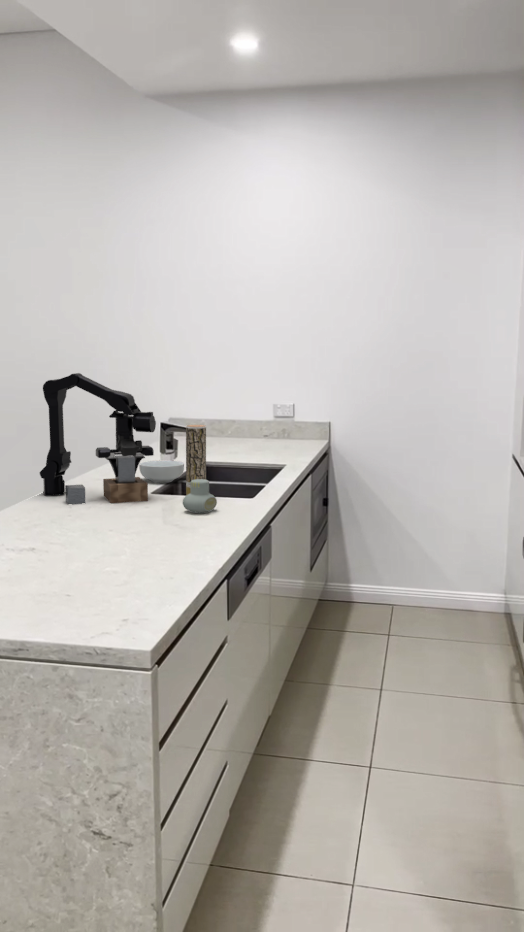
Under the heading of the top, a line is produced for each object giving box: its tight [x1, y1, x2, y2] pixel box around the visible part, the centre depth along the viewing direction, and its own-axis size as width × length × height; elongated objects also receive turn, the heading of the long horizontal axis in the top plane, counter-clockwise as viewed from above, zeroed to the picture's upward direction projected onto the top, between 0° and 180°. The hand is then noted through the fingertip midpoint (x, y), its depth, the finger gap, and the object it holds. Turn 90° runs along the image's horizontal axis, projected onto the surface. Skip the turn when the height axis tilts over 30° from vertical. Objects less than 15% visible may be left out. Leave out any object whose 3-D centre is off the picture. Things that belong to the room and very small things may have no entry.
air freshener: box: [182, 479, 218, 514], centre depth 257 cm, size 11×8×10 cm
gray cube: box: [65, 484, 86, 505], centre depth 268 cm, size 6×6×6 cm
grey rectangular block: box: [114, 454, 136, 484], centre depth 274 cm, size 6×6×10 cm
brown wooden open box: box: [102, 476, 149, 504], centre depth 275 cm, size 12×12×6 cm
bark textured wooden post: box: [185, 424, 207, 496], centre depth 276 cm, size 7×7×25 cm
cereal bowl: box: [138, 459, 185, 484], centre depth 307 cm, size 17×17×7 cm
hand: (125, 476), depth 274 cm, fingers closed on grey rectangular block, 5 cm apart
